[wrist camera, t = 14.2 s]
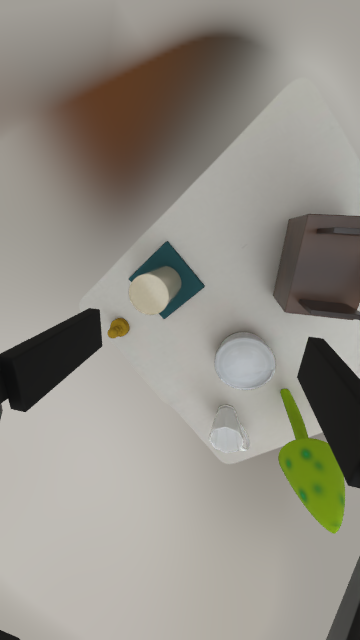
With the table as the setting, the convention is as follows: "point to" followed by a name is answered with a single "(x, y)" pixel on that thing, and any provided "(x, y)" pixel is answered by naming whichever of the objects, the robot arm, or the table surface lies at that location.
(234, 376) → the ramekin
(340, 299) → the holder
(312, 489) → the mushroom
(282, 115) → the table surface
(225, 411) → the cup
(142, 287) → the cream cylinder
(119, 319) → the chess piece
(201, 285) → the mat
